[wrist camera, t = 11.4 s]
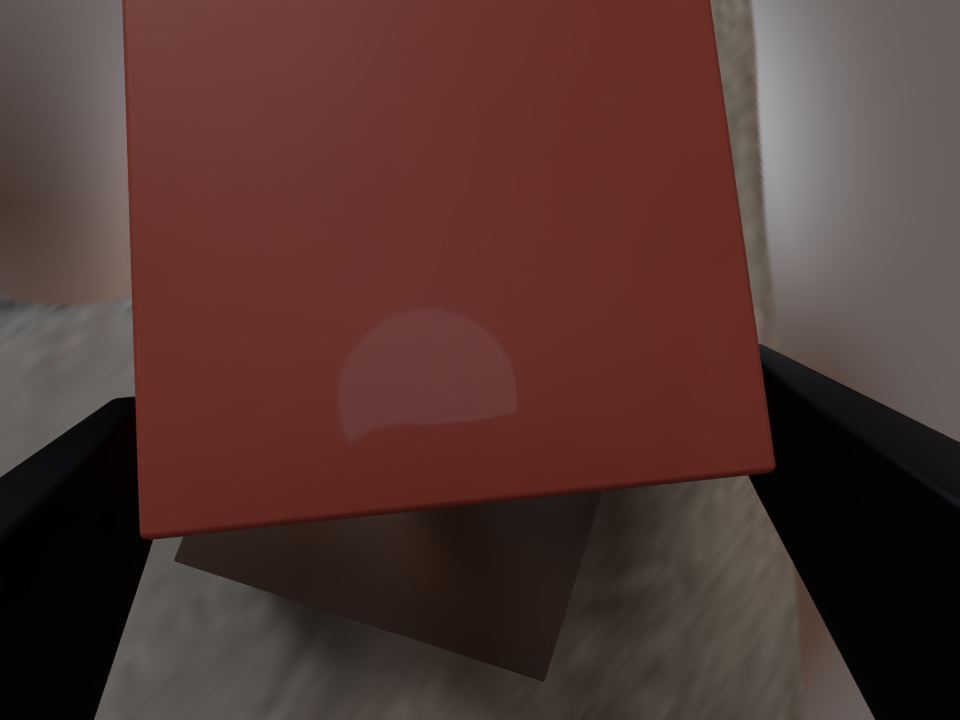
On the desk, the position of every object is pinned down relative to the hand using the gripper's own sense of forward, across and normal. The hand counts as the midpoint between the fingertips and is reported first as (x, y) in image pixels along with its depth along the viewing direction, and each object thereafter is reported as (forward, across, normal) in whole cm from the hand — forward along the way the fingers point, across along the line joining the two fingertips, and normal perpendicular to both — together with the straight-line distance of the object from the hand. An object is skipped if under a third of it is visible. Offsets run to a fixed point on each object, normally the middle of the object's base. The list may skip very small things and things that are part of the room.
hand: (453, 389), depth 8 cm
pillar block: (+7, 0, +5) cm, 9 cm away
